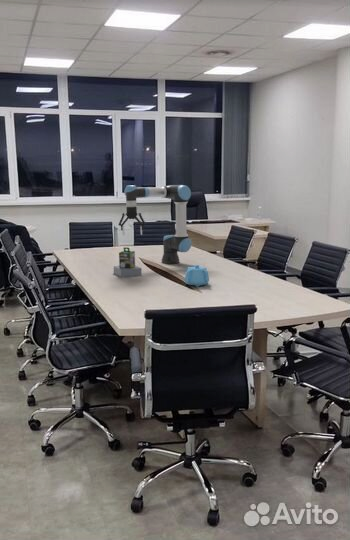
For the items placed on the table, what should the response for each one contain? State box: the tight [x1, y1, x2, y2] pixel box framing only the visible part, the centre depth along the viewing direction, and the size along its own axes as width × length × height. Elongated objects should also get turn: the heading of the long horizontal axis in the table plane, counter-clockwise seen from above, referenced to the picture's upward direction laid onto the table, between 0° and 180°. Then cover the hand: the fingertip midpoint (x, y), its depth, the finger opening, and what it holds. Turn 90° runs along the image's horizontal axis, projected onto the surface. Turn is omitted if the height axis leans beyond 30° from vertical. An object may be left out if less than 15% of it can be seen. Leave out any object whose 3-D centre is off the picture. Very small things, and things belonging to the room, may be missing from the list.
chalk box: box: [118, 246, 136, 268], centre depth 364 cm, size 9×9×15 cm
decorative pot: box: [184, 264, 210, 288], centre depth 330 cm, size 16×16×14 cm
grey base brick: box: [113, 264, 143, 278], centre depth 365 cm, size 16×16×6 cm
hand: (132, 234), depth 369 cm, fingers open, 13 cm apart
